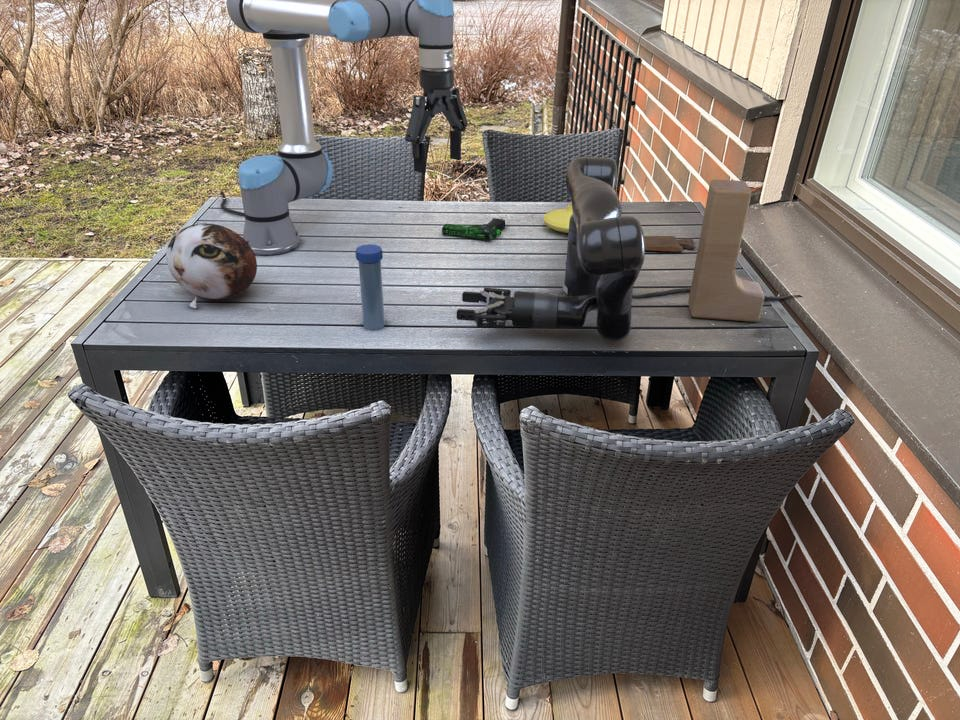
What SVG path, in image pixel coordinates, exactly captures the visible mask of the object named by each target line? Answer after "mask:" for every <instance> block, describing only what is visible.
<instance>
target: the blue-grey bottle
mask: <svg viewBox="0 0 960 720" xmlns="http://www.w3.org/2000/svg"><path fill="white" fill-rule="evenodd" d="M357 262H358V273H359V274H358V275H359V287H360V288H359V289H360V300H361V312H362V313H361V314H362V325H363V328H364V329H366V330H368V331H379V330H381V329H383V328H384V327H385V325H386V322H385V305H384V288H383V276H382V275H383V272H382V271H383V269H382V259H381V260H380V261H378V262H375V263H362V262H359V261H358V260H357Z"/></svg>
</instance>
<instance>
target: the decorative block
mask: <svg viewBox="0 0 960 720" xmlns="http://www.w3.org/2000/svg"><path fill="white" fill-rule="evenodd" d="M751 197H752V190H751V188H750V187H749V185H748V184H747V182H746V181H745V180H734V179H715V178H714V179H711V180H710V182H709V185H708V191H707V195H706V203H705V207H704V213H703V219H702V223H701V224H702V225H701V230H700V234H699V241H698V246H697V252H696V257H695V263H694V268H693V269H694V270H693V274H692V279H691V284H690V285H691V286H690V288H691V290H690V292H689V295H688V301H687V304H688V307H689V311H690V315H691V317H692V318H697V319H698V318H699V319H711V320H725V321H735V322H736V321H737V322H739V321H740V322H751V323H757V322H759V321H760V319H761V314H762V310H763V306H764V302H765V299H764V298H765V297H764V296H765V294H764V291H763V289H762V287H761V285H760V283H759V282H758V281H752V280H748V279H744V278H740V277H739V276H738V275H737V274H736V267H737V263H738V258H739V253H740V250H741V249H740V248H741V244H742V239H743V234H744V231H745V227H746V226H745V225H746V220H747V217H748V211H749V205H750V202H751Z"/></svg>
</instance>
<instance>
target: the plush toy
mask: <svg viewBox="0 0 960 720" xmlns="http://www.w3.org/2000/svg"><path fill="white" fill-rule="evenodd" d="M248 242H249V241H246V240H245V239H244V238H243V236H242V235H240V234H239V233H238V232H236V231H234V230H233V229H231V228H229V227H226V226H223V225H220V224H215V223H205V222H204V223H195V224H191V225H188V226H186V227H183V228H182V229H180V230H179V231H177V232H176V233H175V234H174V235H173V237H171V239H170V241H169V243H168V245H167V248H166V254H165V260H166V265H167V268H168V271H169V273H170V275H171V276H172V277H173V279H174V280H175V281H176V282H177V284H178V285H180V286H181V287H182V288H183V289H185V290H186V291H187V292H189V293H191V294H194V295H195V298H194V299H193V300H192V302H190V303H189V304H188V306H189V307H191V308H192V309H197V308H198V307H197V298H198V297H201V298H205V299H210V300H226V299H230V298H233V297H236V296H238V295H241V294H242V293H244V292H245V291H247V290H248V289H249V288H250V286H251V285H252V284H253V282H254V280H255V278H256V275H257V271H258V262H257V257H256V254H254V252H253V250H252V248H251V247H250V245H249V244H248Z"/></svg>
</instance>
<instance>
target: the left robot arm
mask: <svg viewBox="0 0 960 720" xmlns="http://www.w3.org/2000/svg"><path fill="white" fill-rule="evenodd" d="M226 10H227V13H228V16H229V18H230V20H231V22H232V23H233V24H234V25H235V26H236V27H237V28H238V29H240V30H242V31H244V32H246V33H250V34H262V39H263V40H264V42H266V43H267V44H268V46H269V47H270V55H271V61H272V69H273V76H274V84H275V92H276V100H277V107H278V116H279V122H280V123H279V124H280V130H281V131H280V132H281V138H282V139H281V140H282V142H281V143H280V145H279V146H278V147H277V153H278V155H276V154H263V155H255V156H253V157H250V158H247V159H246V160H244V161H242V162H241V163H240V164H239V166H238V170H237V174H238V185H239V190H240V196H241V201H242V208H243V212H242V211H237V210H235V209H231V208H227V207H226V206H225V204H226V202H227V200H226V194H225V192H224V191H223V190H221V191H220V192H219V195H220V196H221V197H222V201H221V203H220V208H221V209H222V210H223V211H225V212H228V213H231V214H235V215H239V216H243V217H244V219H245V220H244V226H243V228H244V229H243V235H242V237H243V238H244V239H245V240H246V241H249V242H248V244H249V245H250V247H251V248H252V250H253V252H254V254H255V256H256V255H257V256H275V255H281V254H282V255H283V254H285V253H289V252H291V251H293V250H296V249H297V248H298V247H299V246H300V244H301V241H300V235H299V233H298V231H297V229H296V227H295V225H294V223H293V220H292V218H291V216H290V207H289V203H292V202H295V201H299V200H302V199H305V198H308V197H313V196H317V195H318V194H320V193H322V192H325V191H326V190H327V189H328V188H329V186H330V185H331V183H332V181H333V177H334V168H333V167H334V166H333V164H332V160H331V159H329V155H328V154H327V153H326V151H324V150H323V148H322V145H321V144H320V143H319V142H318V141H317V140H316V135H315V126H314V118H313V106H312V97H311V88H310V79H309V78H310V77H309V71H308V70H309V69H308V59H307V51H306V45H307V43H308V42H309V40H310V39H311V35H315V36H322V37H330V38H336V39H337V40H338V41H340V42H341V43H359V42H362V41H369V40H377V39H386V38H394V37H411V38H418V66H419V67H420V68H421V69H420V70H419V86H420V88H421V89H422V91H423V92H422V93H423V94H422V95H416V94H414V95H413V99H412V107H411V113H410V117H409V121H408V124H407V128H406V133H405V136H404V141H405V142H408V143H411V150H412V151H411V153H412V154H411V155H412V158H413V172H417V173H421V174H425V173H426V149H425V148H426V143H424V142H423V141H424V138H425V136H426V134H427V132H428V129H429V127H430V125H431V122H432V120H433V118H435V117H436V116H437V115H439V114H440V113H442V114H443V116H444V117H445V119H446V120H447V122H448V124H449V126H450V127H451V130H449V159H451V160H455V161H461V160H462V139H463V138H462V133H463V132H466V130H467V127H468V125H469V123H468V120H467V116H466V113H465V109H464V107H463V103H462V99H461V95H460V88H459V87H454V85H455V72H454V70H453V69H452V68H453V67H454V19H455V11H454V10H455V9H454V0H226ZM223 198H225V199H223Z"/></svg>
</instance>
